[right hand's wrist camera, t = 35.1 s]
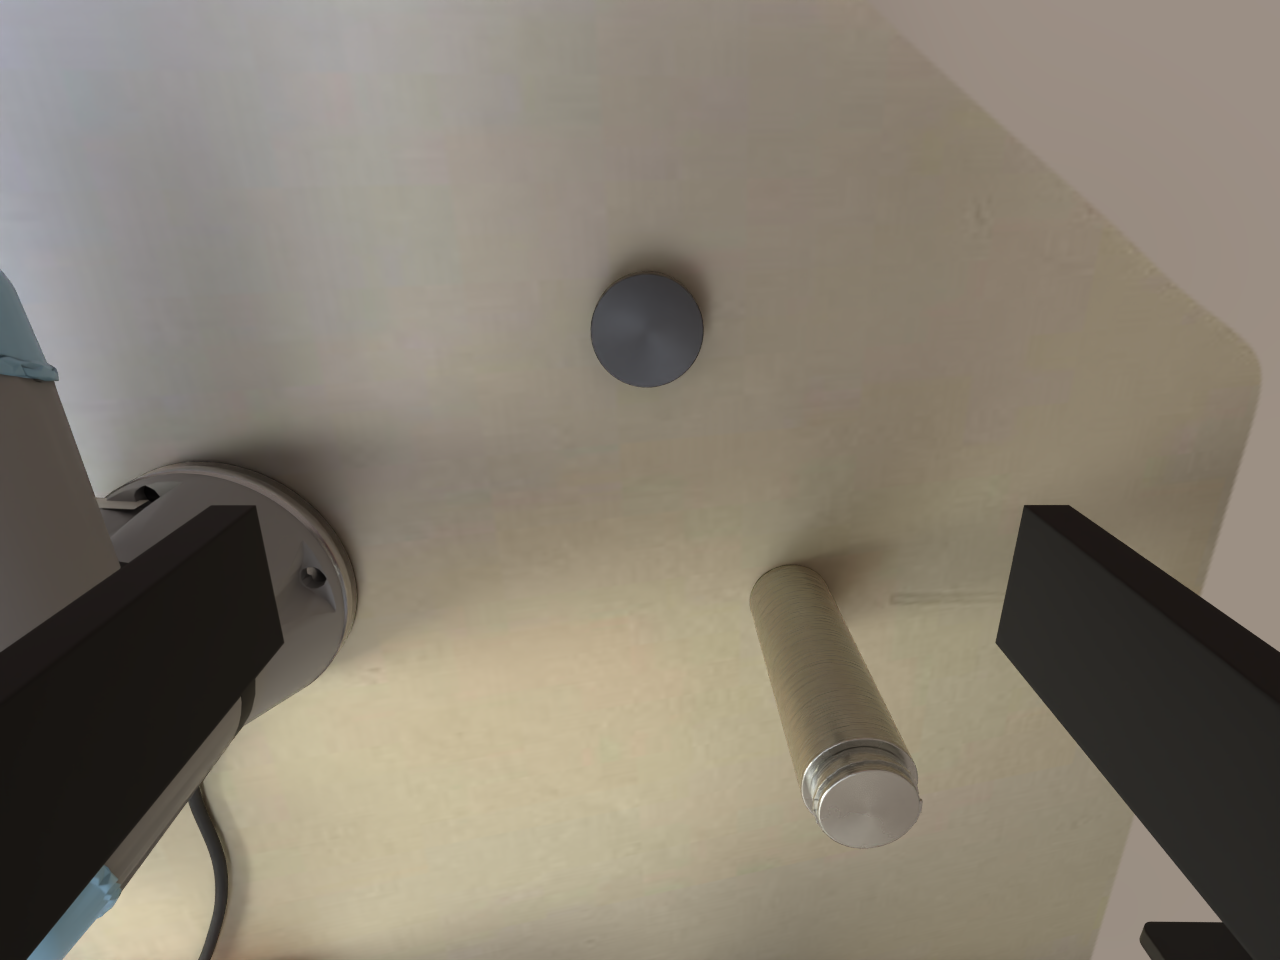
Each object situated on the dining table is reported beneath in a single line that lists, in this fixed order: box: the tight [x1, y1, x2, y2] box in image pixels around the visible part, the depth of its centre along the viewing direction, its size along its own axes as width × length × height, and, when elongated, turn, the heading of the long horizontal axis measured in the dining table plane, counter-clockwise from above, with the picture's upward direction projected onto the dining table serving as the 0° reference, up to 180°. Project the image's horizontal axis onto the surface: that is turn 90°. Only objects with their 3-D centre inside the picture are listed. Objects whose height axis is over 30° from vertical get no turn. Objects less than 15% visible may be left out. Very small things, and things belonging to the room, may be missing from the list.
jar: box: [750, 565, 922, 848], centre depth 36 cm, size 5×5×16 cm
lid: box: [591, 271, 703, 387], centre depth 37 cm, size 6×6×2 cm
